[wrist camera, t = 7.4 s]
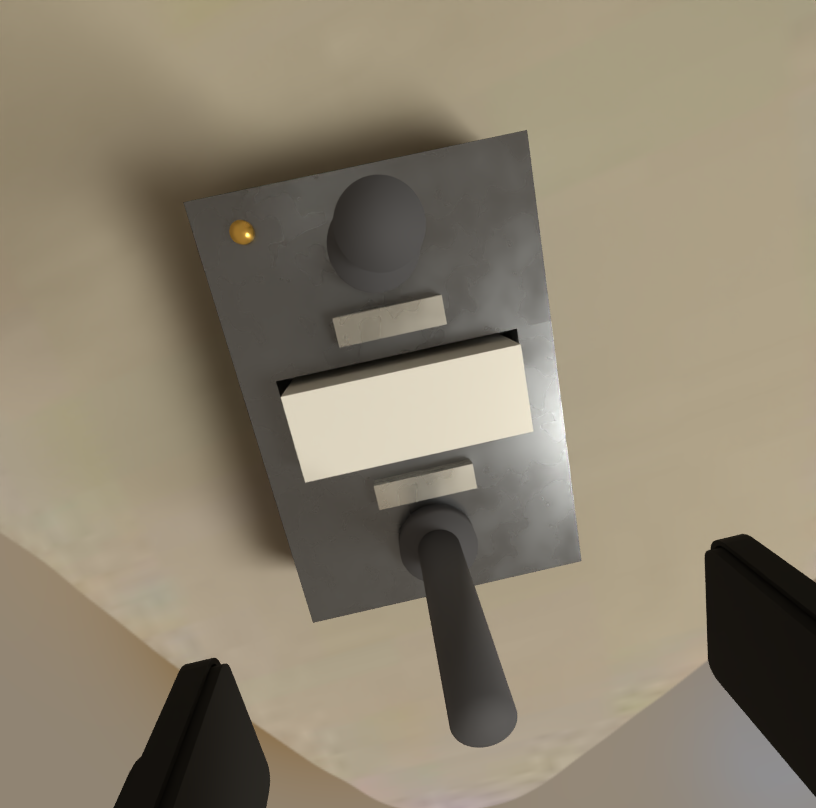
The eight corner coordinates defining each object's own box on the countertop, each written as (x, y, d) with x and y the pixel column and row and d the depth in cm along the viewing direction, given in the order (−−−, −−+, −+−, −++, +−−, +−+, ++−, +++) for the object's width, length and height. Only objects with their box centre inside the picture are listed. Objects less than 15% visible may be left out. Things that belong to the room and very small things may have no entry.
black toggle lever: (391, 513, 31) (408, 684, 18) (467, 496, 31) (536, 654, 18) (407, 579, 32) (433, 781, 19) (479, 562, 32) (552, 753, 20)
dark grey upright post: (318, 208, 26) (271, 150, 13) (408, 189, 26) (448, 112, 13) (340, 300, 27) (317, 327, 15) (426, 281, 27) (477, 292, 15)
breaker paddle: (298, 370, 33) (280, 397, 26) (489, 329, 33) (520, 344, 26) (317, 440, 34) (305, 482, 28) (500, 399, 35) (533, 431, 28)
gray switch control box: (217, 214, 31) (177, 200, 25) (497, 155, 32) (531, 125, 25) (321, 569, 38) (311, 631, 32) (549, 517, 39) (586, 567, 32)
